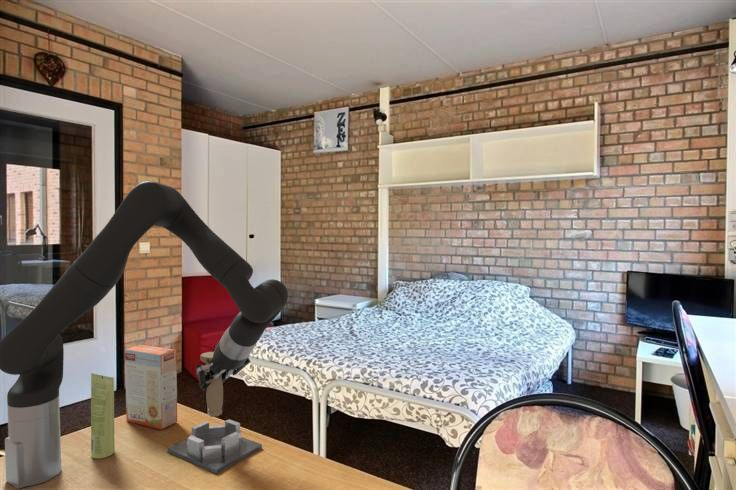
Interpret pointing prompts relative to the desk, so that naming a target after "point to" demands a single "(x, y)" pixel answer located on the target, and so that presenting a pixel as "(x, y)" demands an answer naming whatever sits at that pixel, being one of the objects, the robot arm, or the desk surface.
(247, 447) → the octagonal fixture plate
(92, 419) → the tube
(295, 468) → the desk surface
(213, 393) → the handle
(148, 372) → the cracker box
